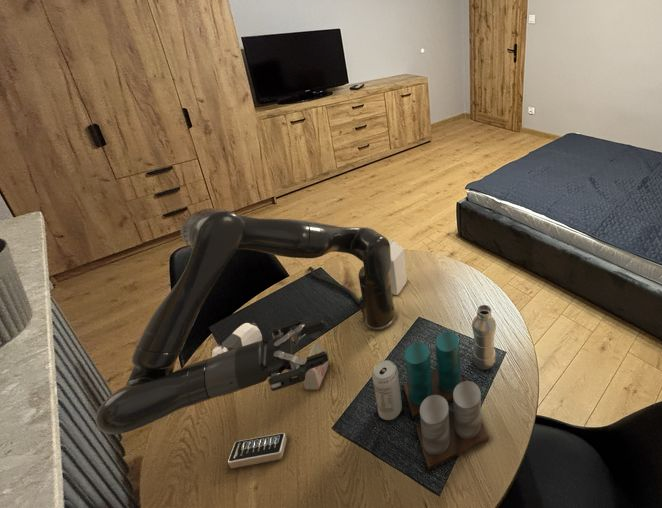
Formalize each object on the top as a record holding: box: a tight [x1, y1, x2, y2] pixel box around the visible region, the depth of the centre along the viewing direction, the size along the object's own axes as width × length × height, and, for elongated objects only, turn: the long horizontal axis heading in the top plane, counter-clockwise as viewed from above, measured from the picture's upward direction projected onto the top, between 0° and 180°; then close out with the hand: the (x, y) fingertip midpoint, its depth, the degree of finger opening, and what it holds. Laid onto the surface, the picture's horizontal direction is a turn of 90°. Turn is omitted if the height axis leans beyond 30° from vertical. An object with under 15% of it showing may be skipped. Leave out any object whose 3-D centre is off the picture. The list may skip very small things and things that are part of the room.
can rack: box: [402, 331, 464, 419], centre depth 95 cm, size 15×9×16 cm, turn 114°
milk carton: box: [389, 237, 408, 296], centre depth 130 cm, size 7×7×19 cm
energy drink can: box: [371, 359, 403, 421], centre depth 90 cm, size 6×6×15 cm
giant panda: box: [210, 322, 263, 358], centre depth 105 cm, size 15×6×10 cm, turn 157°
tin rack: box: [416, 380, 490, 471], centre depth 85 cm, size 15×9×12 cm, turn 114°
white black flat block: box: [227, 432, 288, 469], centre depth 84 cm, size 4×11×2 cm, turn 100°
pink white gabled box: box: [302, 340, 329, 391], centre depth 100 cm, size 4×7×10 cm, turn 178°
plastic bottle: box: [471, 304, 497, 371], centre depth 101 cm, size 6×7×20 cm
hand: (325, 339), depth 77 cm, fingers open, 8 cm apart
